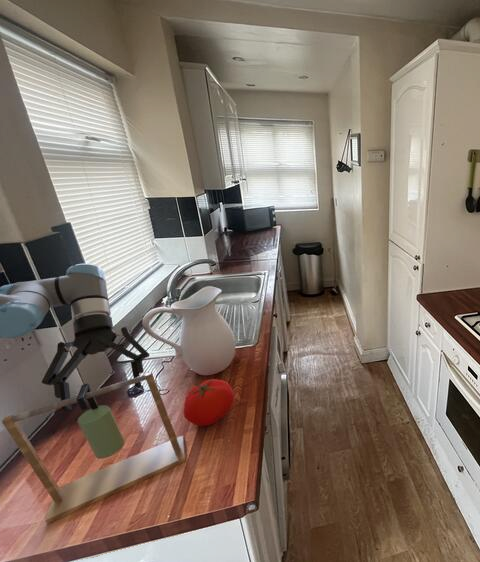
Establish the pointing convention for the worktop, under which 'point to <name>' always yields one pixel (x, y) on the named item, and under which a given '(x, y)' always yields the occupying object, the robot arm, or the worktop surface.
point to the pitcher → (199, 332)
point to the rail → (109, 477)
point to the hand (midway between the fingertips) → (104, 397)
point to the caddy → (99, 426)
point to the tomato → (208, 402)
